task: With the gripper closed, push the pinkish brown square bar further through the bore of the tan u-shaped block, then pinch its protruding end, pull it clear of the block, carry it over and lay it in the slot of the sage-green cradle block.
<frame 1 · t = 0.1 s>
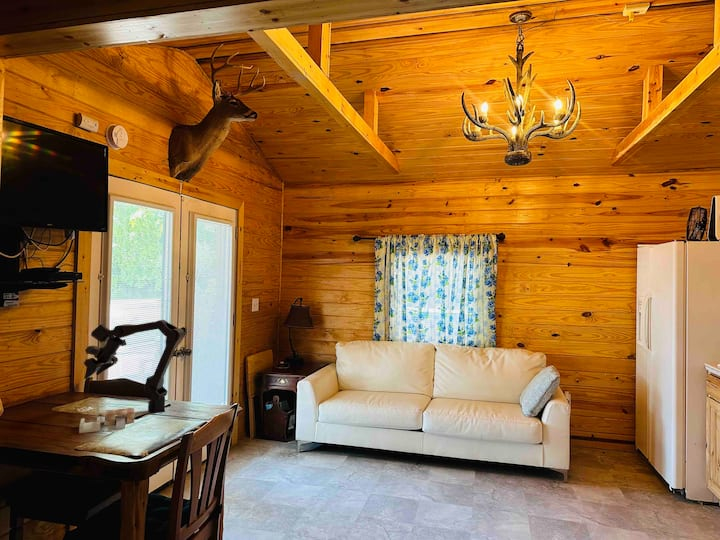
hand: (91, 376, 219), 15 cm above the table, tool tilted 30°, fingers open, 9 cm apart
tan u-shaped block: (119, 421, 200), on the table
pinkish brown square bar: (120, 423, 200), on the table
cradle: (90, 428, 191), on the table
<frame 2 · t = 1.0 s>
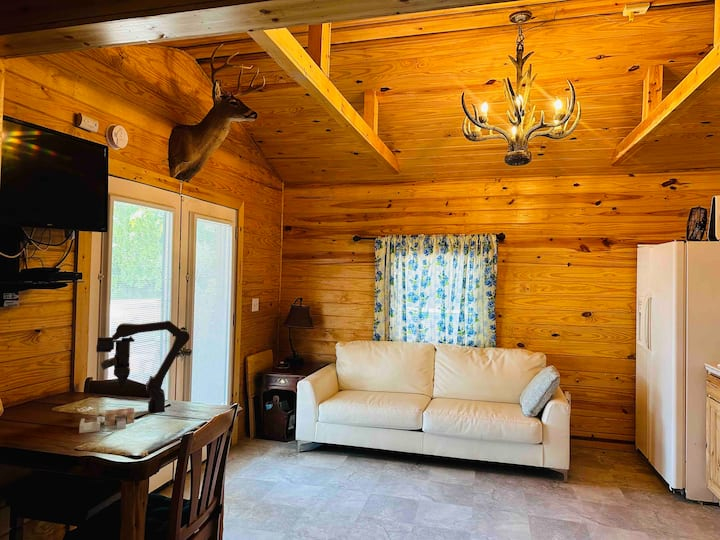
hand: (121, 386, 212), 12 cm above the table, tool pointing down, fingers open, 8 cm apart
nothing on the table moved.
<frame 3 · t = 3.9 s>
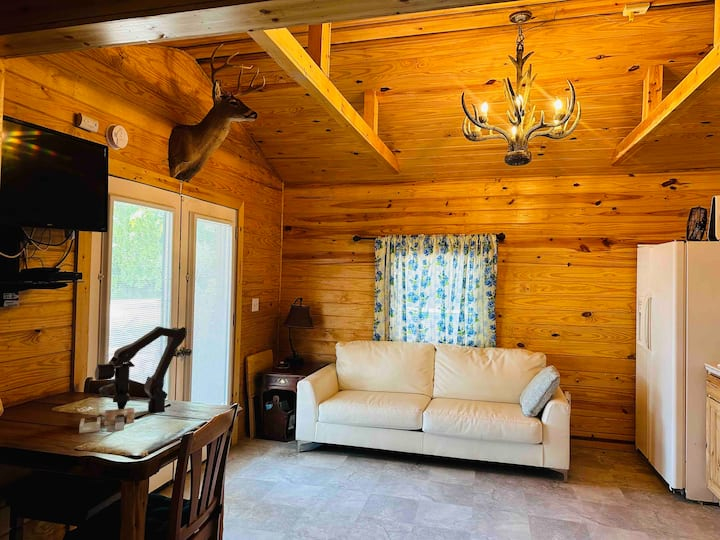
hand: (120, 413, 207), 1 cm above the table, tool pointing down, fingers closed
pinkish brown square bar: (119, 424, 198), on the table
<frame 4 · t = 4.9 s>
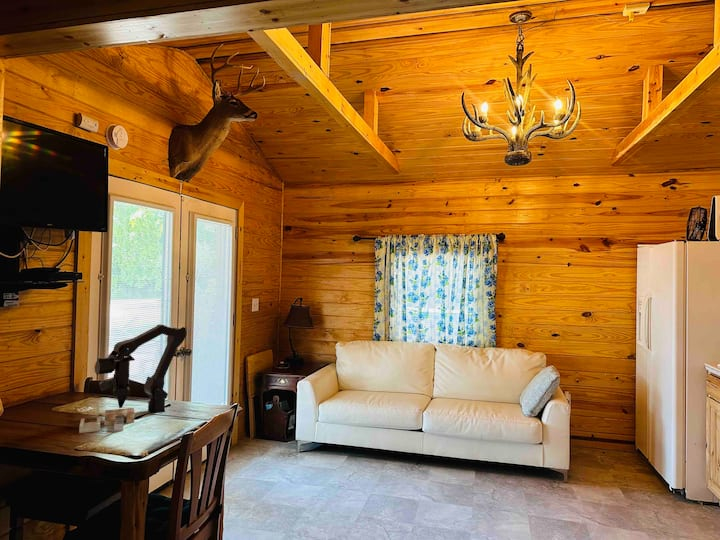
hand: (120, 407, 206), 4 cm above the table, tool pointing down, fingers closed
pinkish brown square bar: (119, 425, 197), on the table
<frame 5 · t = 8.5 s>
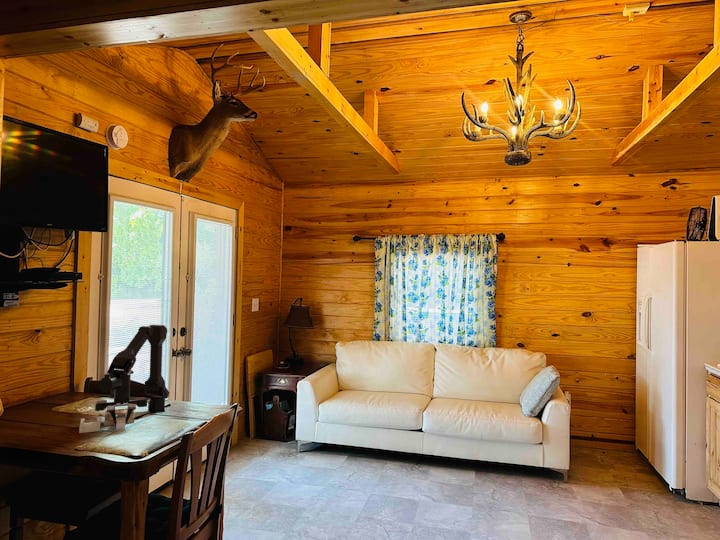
hand: (120, 425, 193), 1 cm above the table, tool pointing down, fingers closed on pinkish brown square bar, 3 cm apart
pinkish brown square bar: (120, 424, 197), on the table, touching gripper
when the fingers open (4 cm above the table, at t = 13.7 s): pinkish brown square bar drops 1 cm, resting on cradle.
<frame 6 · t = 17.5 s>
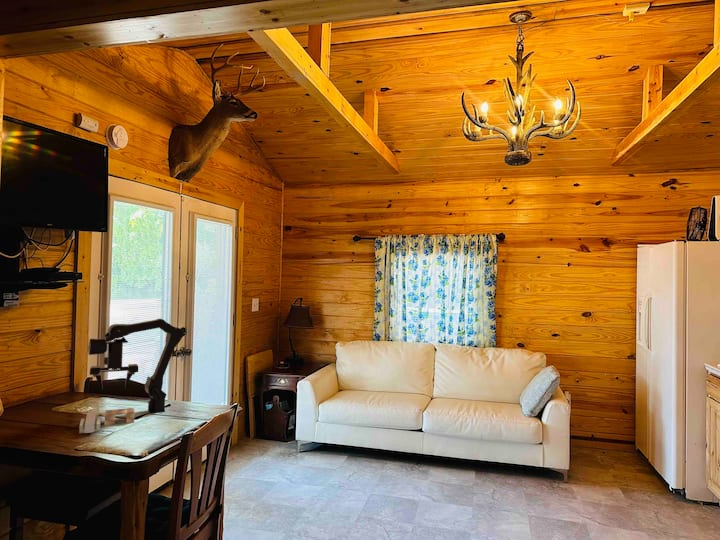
hand: (113, 389, 207), 12 cm above the table, tool pointing down, fingers open, 9 cm apart
pinkish brown square bar: (90, 425, 191), point 1 cm above the table, touching cradle
at the end: pinkish brown square bar inside the target area on the cradle (0.2 cm from its centre), point 1.0 cm above the cradle's base; pinkish brown square bar touching cradle; the gripper is holding nothing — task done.
